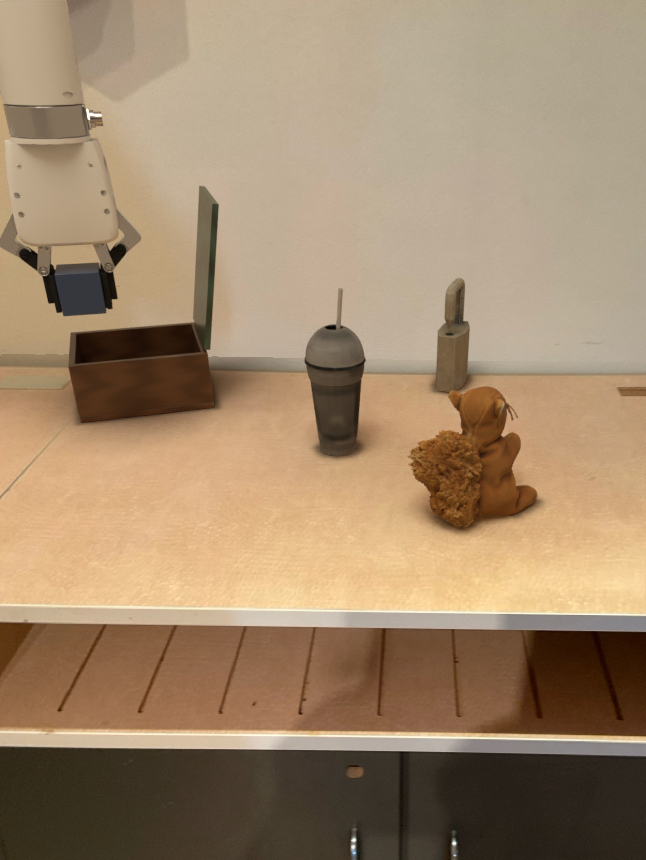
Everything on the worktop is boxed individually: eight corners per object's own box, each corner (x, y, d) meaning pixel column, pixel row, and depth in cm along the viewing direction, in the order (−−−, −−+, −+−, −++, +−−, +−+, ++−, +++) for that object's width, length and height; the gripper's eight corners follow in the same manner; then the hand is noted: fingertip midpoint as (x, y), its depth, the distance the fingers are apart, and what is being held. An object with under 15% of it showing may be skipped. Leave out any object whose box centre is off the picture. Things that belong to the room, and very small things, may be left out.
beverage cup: (334, 431, 104) (328, 275, 93) (378, 445, 100) (377, 285, 90) (297, 450, 99) (286, 288, 88) (342, 466, 95) (336, 299, 85)
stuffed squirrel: (542, 499, 89) (555, 388, 82) (468, 550, 80) (475, 430, 73) (470, 472, 94) (477, 366, 87) (393, 517, 85) (393, 403, 78)
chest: (80, 422, 105) (68, 366, 101) (81, 384, 117) (70, 332, 113) (214, 407, 110) (207, 353, 106) (202, 372, 122) (196, 321, 118)
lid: (212, 203, 97) (218, 204, 97) (199, 185, 108) (205, 186, 109) (204, 349, 106) (210, 350, 106) (192, 318, 117) (198, 319, 118)
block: (63, 316, 86) (54, 274, 84) (64, 305, 90) (56, 264, 88) (106, 313, 88) (98, 271, 85) (106, 302, 91) (99, 262, 89)
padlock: (431, 390, 116) (435, 287, 108) (445, 371, 123) (449, 273, 115) (457, 393, 116) (463, 289, 108) (470, 374, 122) (476, 275, 114)
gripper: (135, 120, 84) (161, 293, 94) (-40, 122, 80) (6, 303, 89) (138, 127, 78) (165, 311, 88) (-51, 129, 74) (-1, 323, 83)
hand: (84, 306), depth 89 cm, fingers closed on block, 4 cm apart
